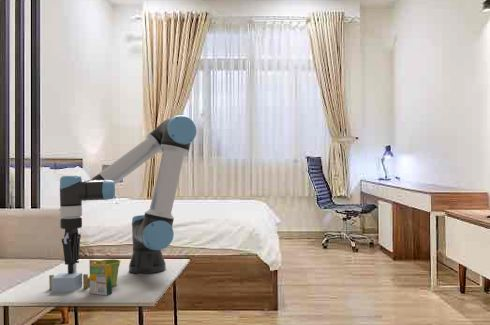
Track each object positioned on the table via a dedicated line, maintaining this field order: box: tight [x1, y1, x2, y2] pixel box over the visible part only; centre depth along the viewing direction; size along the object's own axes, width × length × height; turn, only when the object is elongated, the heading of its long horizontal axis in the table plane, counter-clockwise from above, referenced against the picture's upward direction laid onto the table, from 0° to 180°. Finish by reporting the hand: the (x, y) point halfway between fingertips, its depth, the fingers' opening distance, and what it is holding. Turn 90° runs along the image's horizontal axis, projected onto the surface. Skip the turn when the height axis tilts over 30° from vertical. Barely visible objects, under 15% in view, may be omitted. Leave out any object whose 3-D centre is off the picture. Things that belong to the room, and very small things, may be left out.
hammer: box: [48, 273, 90, 291], centre depth 183 cm, size 14×14×5 cm
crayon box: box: [88, 259, 113, 296], centre depth 168 cm, size 7×3×12 cm, turn 65°
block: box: [51, 272, 83, 293], centre depth 176 cm, size 8×8×5 cm
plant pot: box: [94, 258, 122, 287], centre depth 180 cm, size 9×9×9 cm
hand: (72, 281), depth 181 cm, fingers closed
